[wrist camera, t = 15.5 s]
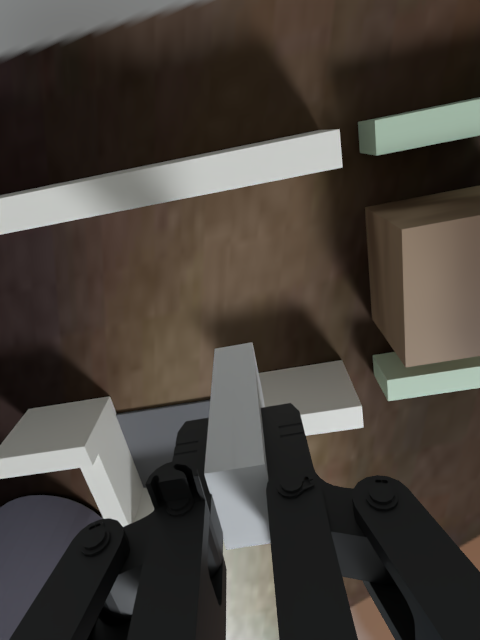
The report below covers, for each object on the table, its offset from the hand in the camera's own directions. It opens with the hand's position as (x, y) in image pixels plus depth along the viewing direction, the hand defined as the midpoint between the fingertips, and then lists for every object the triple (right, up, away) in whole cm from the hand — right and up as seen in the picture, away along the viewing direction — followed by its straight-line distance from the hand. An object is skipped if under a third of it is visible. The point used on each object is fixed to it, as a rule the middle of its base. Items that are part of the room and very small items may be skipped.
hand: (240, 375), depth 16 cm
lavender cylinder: (-16, -16, +18) cm, 29 cm away
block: (+11, +6, +8) cm, 15 cm away
